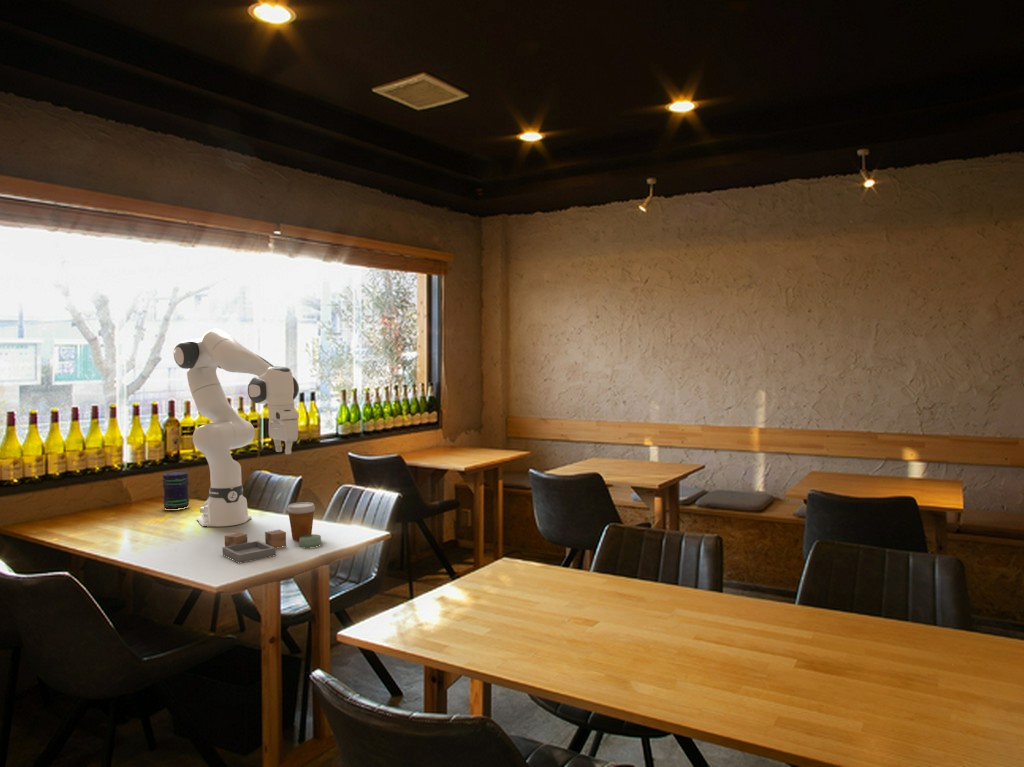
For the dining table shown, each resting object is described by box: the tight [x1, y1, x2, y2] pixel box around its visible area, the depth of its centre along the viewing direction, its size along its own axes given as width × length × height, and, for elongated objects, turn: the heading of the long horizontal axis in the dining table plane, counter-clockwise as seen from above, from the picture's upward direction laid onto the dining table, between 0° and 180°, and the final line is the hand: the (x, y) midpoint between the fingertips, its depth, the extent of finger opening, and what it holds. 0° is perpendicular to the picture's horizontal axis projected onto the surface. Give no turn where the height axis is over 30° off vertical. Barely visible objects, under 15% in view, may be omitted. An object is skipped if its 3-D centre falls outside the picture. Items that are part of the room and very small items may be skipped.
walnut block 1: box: [224, 531, 248, 547], centre depth 246 cm, size 5×5×5 cm
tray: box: [221, 540, 277, 564], centre depth 239 cm, size 13×12×2 cm
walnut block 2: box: [264, 529, 287, 549], centre depth 249 cm, size 5×5×5 cm
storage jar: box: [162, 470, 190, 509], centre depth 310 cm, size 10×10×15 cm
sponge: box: [298, 533, 322, 549], centre depth 250 cm, size 7×7×3 cm
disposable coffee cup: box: [286, 501, 316, 542], centre depth 258 cm, size 10×10×12 cm
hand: (283, 452), depth 257 cm, fingers open, 8 cm apart
